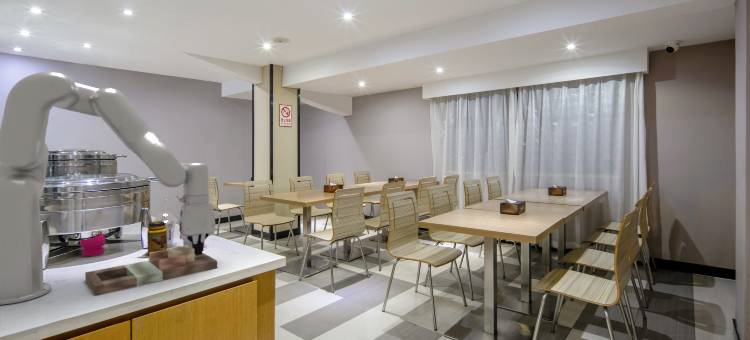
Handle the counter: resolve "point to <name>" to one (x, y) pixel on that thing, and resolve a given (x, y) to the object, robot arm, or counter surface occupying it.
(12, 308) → the counter surface
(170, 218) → the cup with straw
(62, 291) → the counter surface
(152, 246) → the condiment
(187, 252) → the maple block
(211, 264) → the board
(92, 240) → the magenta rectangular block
